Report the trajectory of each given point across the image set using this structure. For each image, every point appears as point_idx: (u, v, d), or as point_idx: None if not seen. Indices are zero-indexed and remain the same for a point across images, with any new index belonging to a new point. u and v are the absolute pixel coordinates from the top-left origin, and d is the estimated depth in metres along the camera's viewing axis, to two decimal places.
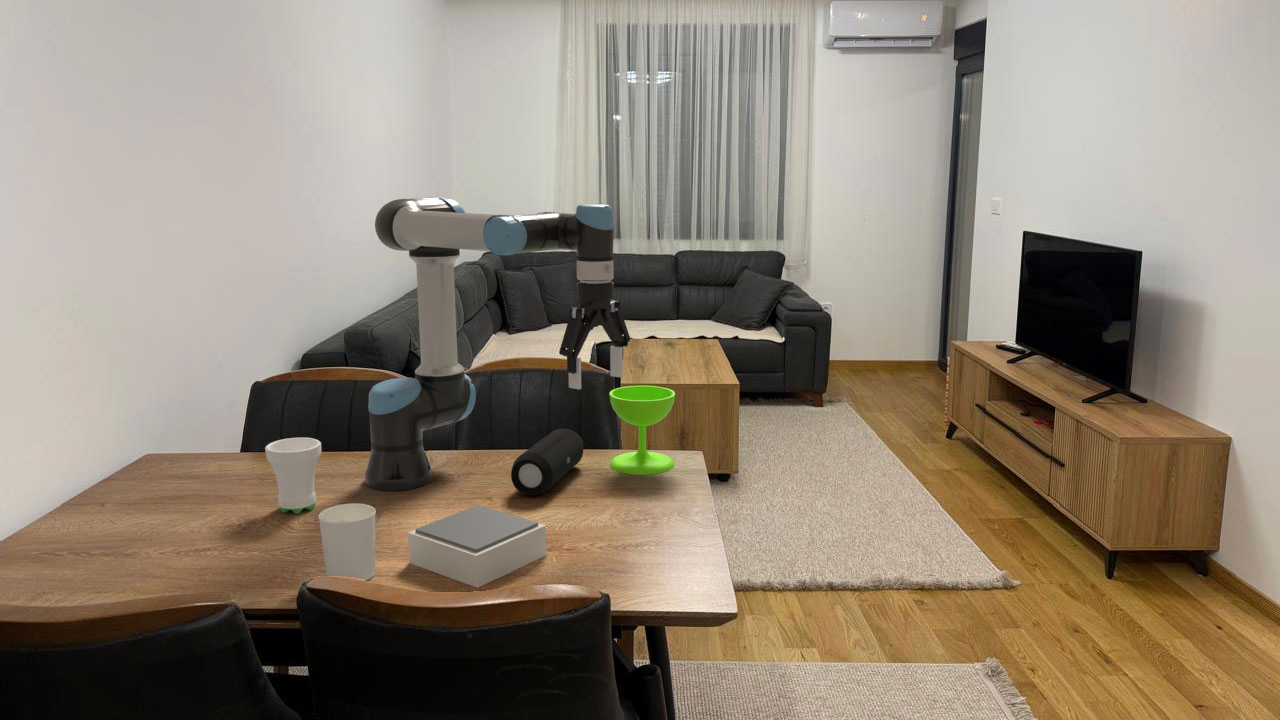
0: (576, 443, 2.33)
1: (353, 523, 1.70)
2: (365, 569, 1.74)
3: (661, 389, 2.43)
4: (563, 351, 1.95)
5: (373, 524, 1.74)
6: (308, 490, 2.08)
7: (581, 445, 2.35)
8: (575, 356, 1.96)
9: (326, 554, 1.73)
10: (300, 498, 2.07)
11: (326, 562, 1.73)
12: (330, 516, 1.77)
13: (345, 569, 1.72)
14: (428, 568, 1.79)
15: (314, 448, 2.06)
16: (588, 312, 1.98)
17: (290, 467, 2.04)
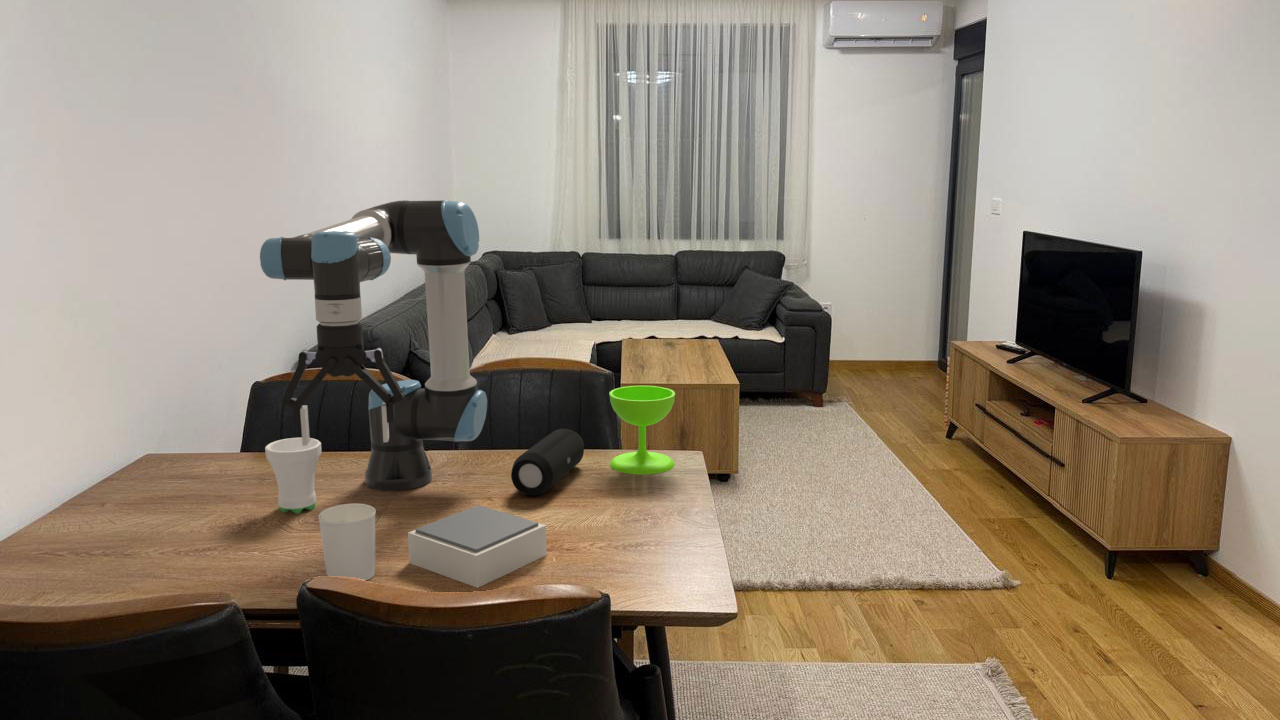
0: (576, 443, 2.33)
1: (354, 523, 1.70)
2: (365, 569, 1.74)
3: (661, 389, 2.43)
4: None
5: (373, 524, 1.74)
6: (308, 490, 2.08)
7: (581, 445, 2.35)
8: (295, 406, 1.68)
9: (326, 554, 1.73)
10: (300, 498, 2.07)
11: (326, 562, 1.73)
12: (330, 516, 1.77)
13: (345, 569, 1.72)
14: (428, 568, 1.79)
15: (314, 448, 2.06)
16: (318, 358, 1.68)
17: (290, 467, 2.04)
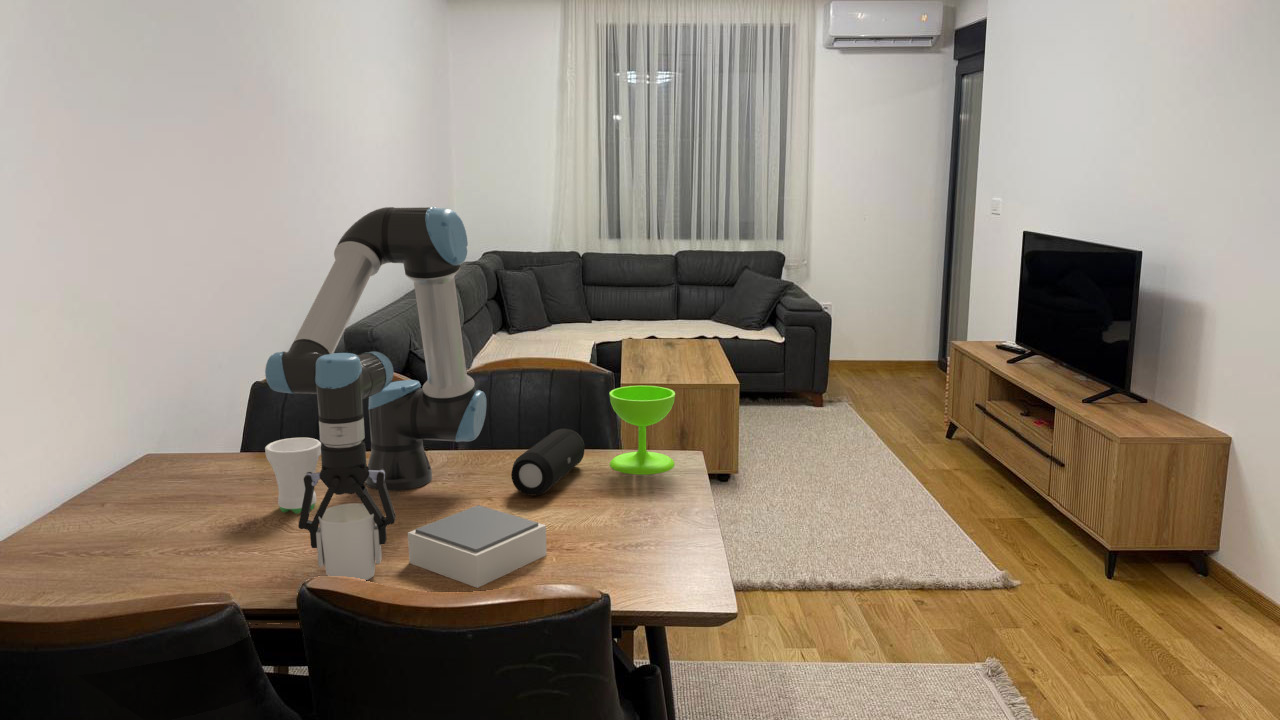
0: (577, 443, 2.33)
1: (353, 523, 1.70)
2: (365, 569, 1.74)
3: (661, 389, 2.43)
4: None
5: (373, 524, 1.74)
6: None
7: (582, 445, 2.35)
8: (311, 530, 1.73)
9: (326, 554, 1.73)
10: (300, 498, 2.07)
11: (326, 562, 1.73)
12: (330, 516, 1.77)
13: (345, 569, 1.72)
14: (428, 568, 1.79)
15: (314, 448, 2.06)
16: (323, 478, 1.71)
17: (290, 467, 2.04)
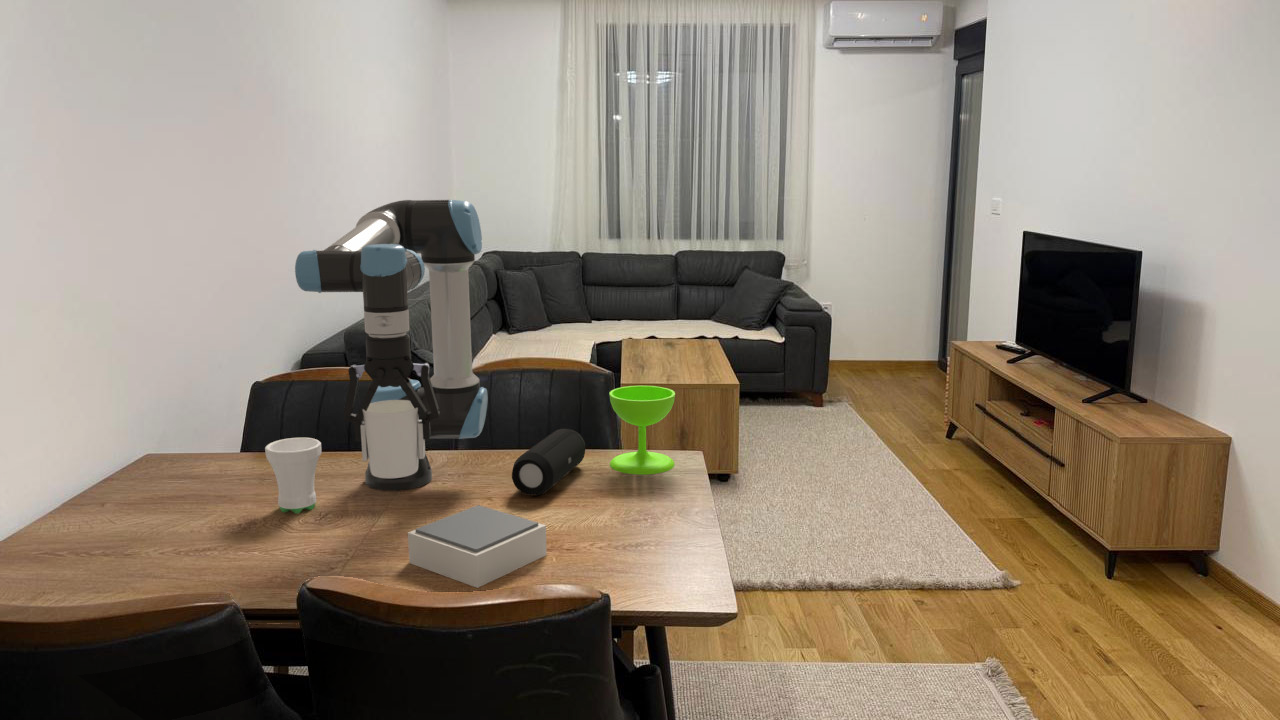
0: (578, 443, 2.33)
1: (398, 415, 1.69)
2: (409, 463, 1.73)
3: (661, 389, 2.43)
4: None
5: (417, 418, 1.73)
6: (308, 490, 2.08)
7: (583, 445, 2.35)
8: (356, 423, 1.72)
9: (370, 447, 1.72)
10: (300, 498, 2.07)
11: (370, 455, 1.72)
12: (374, 412, 1.77)
13: (389, 462, 1.71)
14: (428, 568, 1.79)
15: (314, 448, 2.06)
16: (367, 369, 1.71)
17: (290, 467, 2.04)
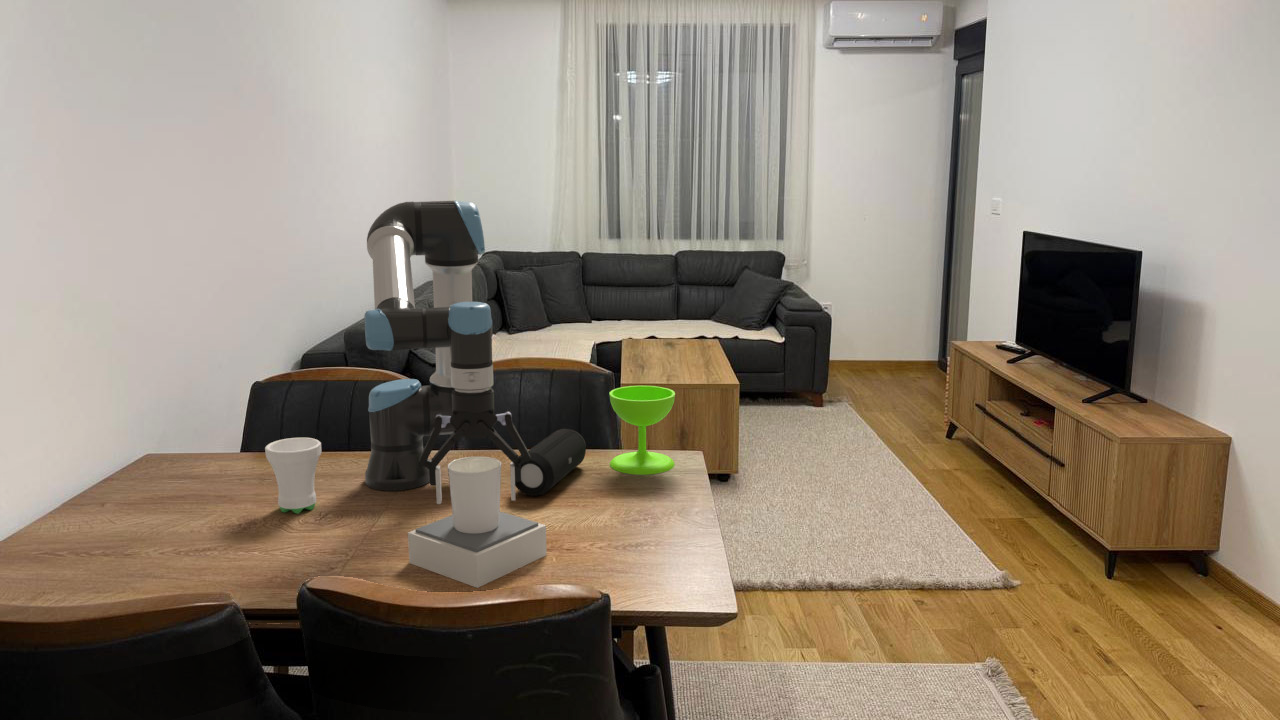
0: (578, 443, 2.33)
1: (484, 473, 1.76)
2: (492, 519, 1.80)
3: (661, 389, 2.43)
4: (419, 460, 1.79)
5: (500, 475, 1.80)
6: (308, 490, 2.08)
7: (583, 445, 2.35)
8: (430, 468, 1.78)
9: (455, 504, 1.79)
10: (300, 498, 2.07)
11: (455, 511, 1.79)
12: (456, 468, 1.83)
13: (474, 518, 1.78)
14: (428, 568, 1.79)
15: (314, 448, 2.06)
16: (453, 422, 1.77)
17: (290, 467, 2.04)
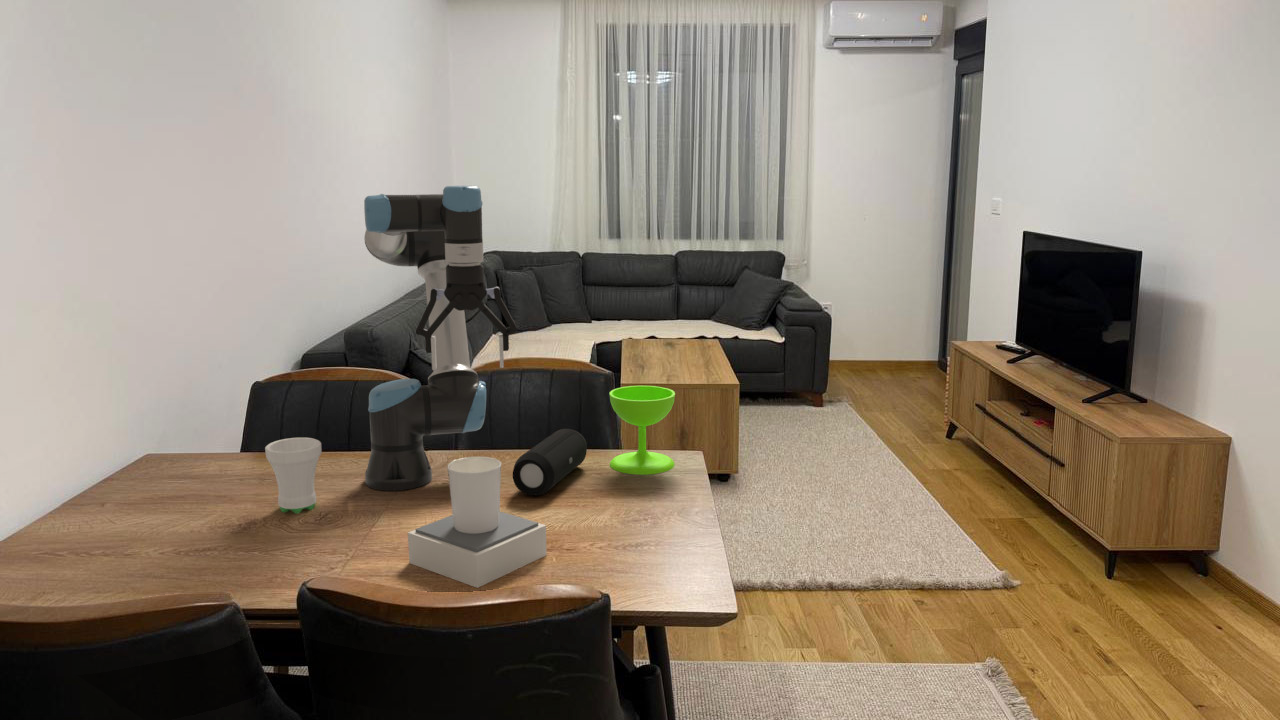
0: (579, 443, 2.33)
1: (484, 473, 1.76)
2: (492, 519, 1.80)
3: (661, 389, 2.43)
4: None
5: (499, 475, 1.80)
6: (308, 490, 2.08)
7: (584, 445, 2.35)
8: (426, 336, 1.97)
9: (455, 504, 1.79)
10: (300, 498, 2.07)
11: (455, 512, 1.79)
12: (456, 468, 1.83)
13: (474, 518, 1.78)
14: (428, 568, 1.79)
15: (314, 448, 2.06)
16: (447, 294, 1.96)
17: (290, 467, 2.04)
